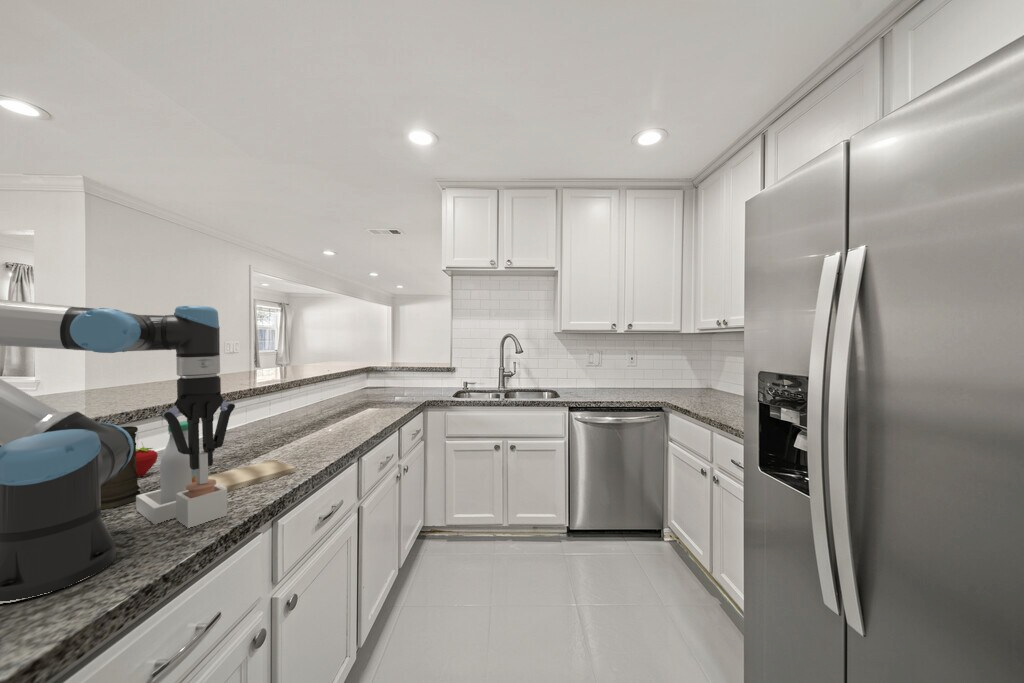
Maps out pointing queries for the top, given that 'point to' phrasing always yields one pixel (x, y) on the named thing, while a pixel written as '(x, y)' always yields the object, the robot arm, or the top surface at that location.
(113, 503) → the container
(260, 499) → the top surface
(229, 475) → the ash board
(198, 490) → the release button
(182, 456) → the milk bottle
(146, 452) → the strawberry
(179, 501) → the dock
